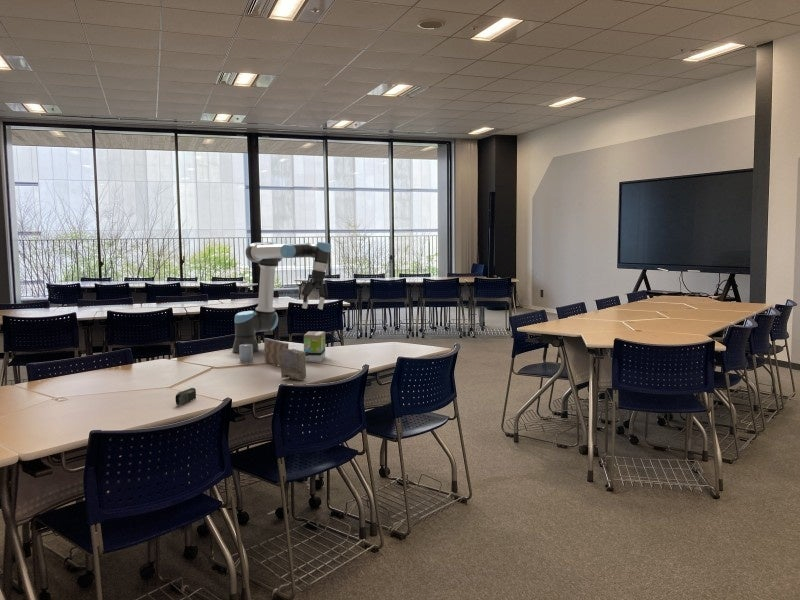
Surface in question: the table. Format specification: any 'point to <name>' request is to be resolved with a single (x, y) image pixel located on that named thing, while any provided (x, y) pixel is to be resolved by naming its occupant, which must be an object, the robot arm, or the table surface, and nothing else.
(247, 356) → the grey capsule cylinder
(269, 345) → the board
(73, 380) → the table surface
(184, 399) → the dark grey elongated bar
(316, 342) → the tea box
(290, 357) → the geological specimen
